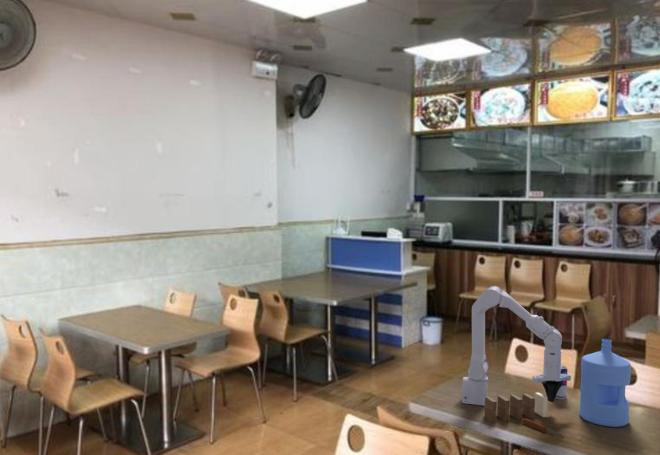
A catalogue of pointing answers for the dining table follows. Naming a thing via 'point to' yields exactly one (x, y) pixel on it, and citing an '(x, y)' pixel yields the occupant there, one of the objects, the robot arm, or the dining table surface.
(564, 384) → the energy drink
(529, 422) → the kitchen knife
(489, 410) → the walnut domino
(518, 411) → the walnut domino
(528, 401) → the walnut domino
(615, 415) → the water jug
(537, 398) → the cream domino
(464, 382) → the robot arm
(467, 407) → the dining table surface
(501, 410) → the walnut domino
